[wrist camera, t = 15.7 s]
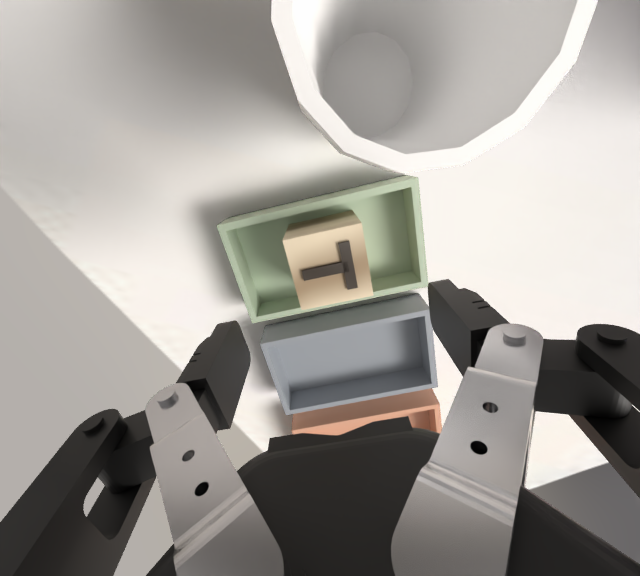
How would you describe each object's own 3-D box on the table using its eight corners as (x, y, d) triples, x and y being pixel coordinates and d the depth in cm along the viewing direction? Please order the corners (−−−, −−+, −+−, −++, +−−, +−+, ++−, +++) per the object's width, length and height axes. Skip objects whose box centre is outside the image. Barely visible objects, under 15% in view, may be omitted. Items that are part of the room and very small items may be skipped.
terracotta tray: (293, 406, 31) (291, 430, 29) (428, 381, 30) (439, 403, 28) (311, 458, 35) (311, 484, 32) (434, 437, 33) (445, 462, 31)
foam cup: (416, 172, 23) (530, 187, 11) (293, 158, 22) (267, 158, 10) (451, 10, 19) (686, -245, 7) (303, -11, 18) (281, -325, 6)
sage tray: (227, 217, 24) (216, 225, 21) (405, 175, 23) (418, 177, 20) (258, 306, 27) (252, 323, 24) (416, 272, 26) (428, 286, 23)
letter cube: (288, 224, 23) (281, 241, 19) (352, 210, 23) (362, 223, 18) (304, 282, 25) (301, 311, 21) (362, 270, 25) (374, 296, 20)
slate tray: (265, 325, 28) (259, 344, 25) (418, 293, 27) (430, 309, 24) (288, 392, 31) (285, 415, 28) (426, 365, 30) (437, 387, 27)
